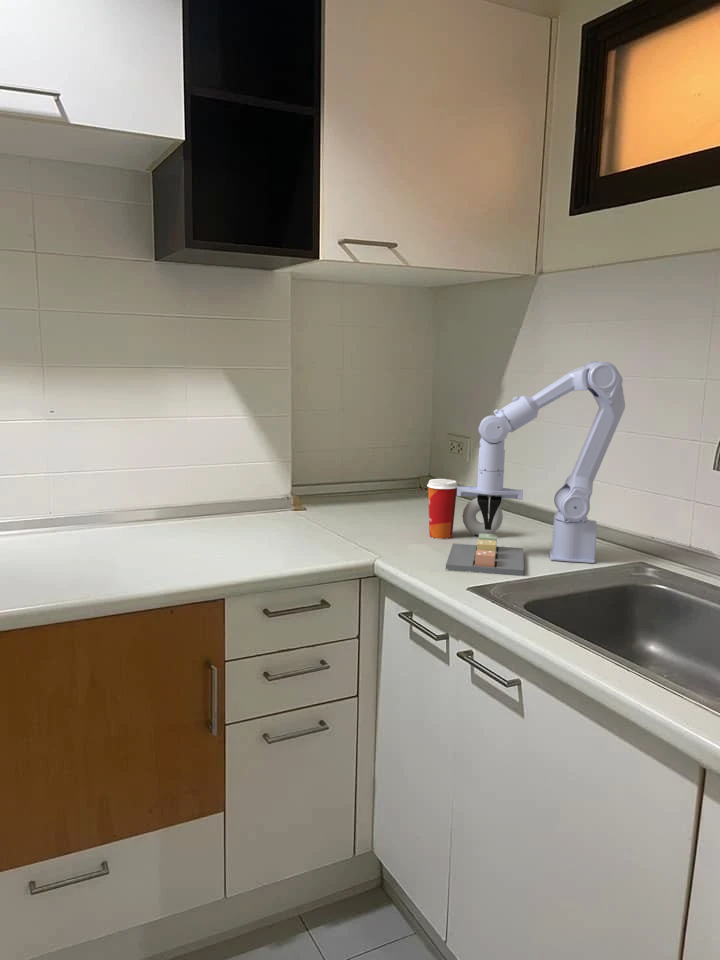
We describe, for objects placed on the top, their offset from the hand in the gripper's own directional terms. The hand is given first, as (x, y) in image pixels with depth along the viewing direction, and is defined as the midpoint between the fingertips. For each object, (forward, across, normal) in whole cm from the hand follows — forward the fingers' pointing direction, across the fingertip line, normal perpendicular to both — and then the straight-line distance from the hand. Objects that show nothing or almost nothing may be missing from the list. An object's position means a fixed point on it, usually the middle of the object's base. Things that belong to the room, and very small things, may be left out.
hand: (487, 528), depth 169 cm
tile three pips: (+6, 0, +12) cm, 13 cm away
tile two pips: (+5, 0, +6) cm, 8 cm away
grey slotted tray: (+6, 0, +6) cm, 8 cm away
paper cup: (+6, +12, -14) cm, 19 cm away
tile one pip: (+5, 0, 0) cm, 5 cm away
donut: (+6, +2, -17) cm, 18 cm away
